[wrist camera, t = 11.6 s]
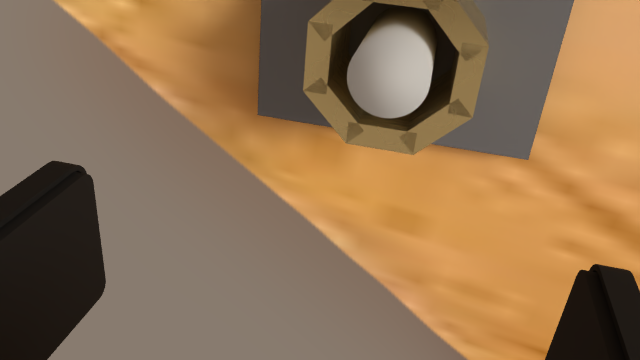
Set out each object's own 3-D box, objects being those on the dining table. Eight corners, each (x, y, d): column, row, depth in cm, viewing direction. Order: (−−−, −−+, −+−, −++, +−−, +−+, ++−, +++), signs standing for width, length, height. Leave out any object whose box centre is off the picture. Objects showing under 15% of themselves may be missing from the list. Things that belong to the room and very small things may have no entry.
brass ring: (337, -49, 26) (312, -34, 22) (495, -30, 25) (501, -11, 21) (324, 97, 29) (299, 135, 25) (462, 119, 28) (462, 163, 24)
